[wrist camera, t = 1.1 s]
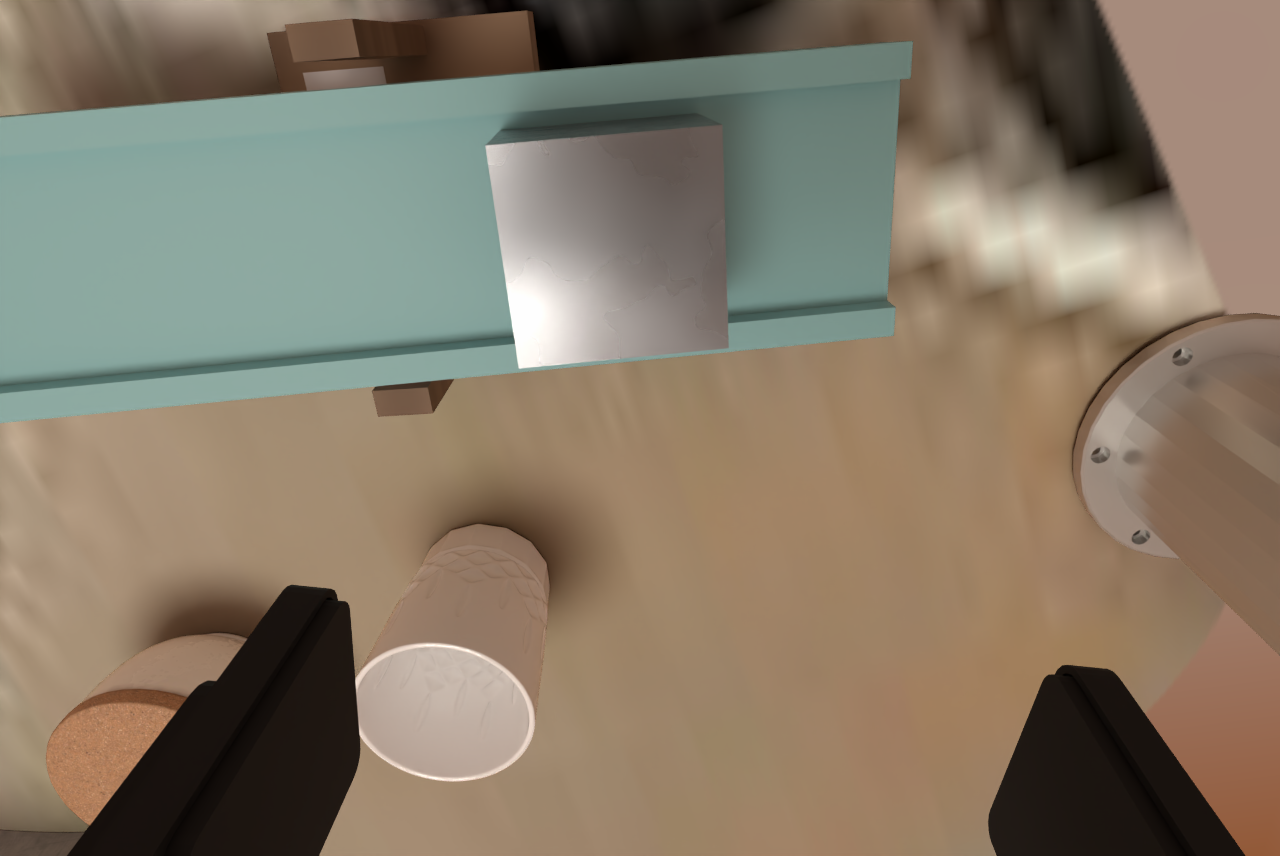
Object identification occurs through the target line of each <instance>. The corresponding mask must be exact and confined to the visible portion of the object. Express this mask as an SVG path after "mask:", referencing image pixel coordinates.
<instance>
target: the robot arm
mask: <svg viewBox="0 0 1280 856" xmlns="http://www.w3.org/2000/svg"><path fill="white" fill-rule="evenodd" d="M1073 476H1074V480H1075V485H1076V489H1077V494H1078V496H1079V498H1080V499H1081V501H1082V503H1083V505H1084V507H1085V509H1086V511H1087V512H1088V513H1089V514H1090V516H1091V517H1092V518H1093V519H1094V520H1095V521H1096V523H1097V524H1098V525H1099V526H1100V527H1101V528H1102V529H1103V530H1104V531H1105V532H1106V533H1108V534H1109V535H1110V536H1111V537H1112V538H1113V539H1114V540H1116V541H1117V542H1119V543H1121V544H1123V545H1124V546H1126V547H1128V548H1130V549H1132V550H1135V551H1138V552H1141V553H1145V554H1148V555H1152V556H1155V557H1164V558H1173V559H1181V560H1182V561H1183V562H1184V563H1185V564H1186V565H1187V566H1188V567H1189V568H1191V569H1192V570H1193V571H1194V572H1195V573H1196V574H1197V575H1198V576H1199V577H1200V578H1201V579H1202V580H1203V581H1204V582H1205V583H1206V584H1207V585H1208V586H1209V587H1210V588H1211V589H1212V590H1213V591H1214V592H1215V593H1216V594H1217V595H1218V596H1219V597H1220V598H1221V599H1222V600H1223V601H1224V602H1225V603H1226V604H1227V605H1228V606H1229V607H1230V608H1231V609H1233V611H1234V612H1235V613H1237V614H1238V615H1239V616H1240V617H1241V618H1242V619H1243V620H1244V621H1245V622H1246V623H1247V624H1248V625H1249V626H1250V627H1251V628H1252V629H1253V630H1254V631H1255V632H1256V633H1257V634H1258V635H1259V636H1260V637H1261V638H1262V639H1263V640H1264V641H1265V642H1266V643H1267V644H1268V645H1269V646H1270V647H1271V648H1272V649H1273V650H1275V652H1276V653H1277V654H1278V655H1279V656H1280V316H1275V315H1267V314H1258V313H1250V314H1235V315H1225V316H1221V317H1217V318H1212V319H1208V320H1204V321H1200V322H1197V323H1194V324H1192V325H1189V326H1187V327H1184V328H1182V329H1179V330H1177V331H1174V332H1172V333H1170V334H1168V335H1167V336H1165V337H1163V338H1162V339H1160V340H1158V341H1156V342H1155V343H1153V344H1151V345H1149V346H1148V347H1146V348H1145V349H1143V350H1142V351H1141V352H1140V353H1138V354H1137V355H1136V356H1135V357H1133V358H1132V359H1131V360H1130V361H1128V362H1127V363H1126V364H1124V365H1123V366H1122V367H1121V368H1120V369H1119V370H1118V371H1117V373H1116V374H1115V375H1114V376H1113V377H1112V378H1111V379H1110V380H1109V381H1108V382H1107V383H1106V384H1105V385H1104V386H1103V388H1102V389H1101V391H1100V392H1099V394H1098V395H1097V397H1096V398H1095V400H1094V401H1093V403H1092V404H1091V406H1090V407H1089V409H1088V411H1087V413H1086V415H1085V418H1084V420H1083V422H1082V424H1081V427H1080V429H1079V431H1078V435H1077V440H1076V444H1075V448H1074V453H1073ZM359 758H360V735H359V722H358V709H357V696H356V683H355V670H354V657H353V644H352V631H351V618H350V608H349V605H348V603H347V602H345V601H338V599H337V594H336V592H335V590H332V589H327V588H317V587H308V586H298V585H290V586H287V587H286V588H285V589H284V590H283V591H282V593H281V594H280V595H279V597H278V598H277V599H276V601H275V602H274V603H273V605H272V606H271V608H270V609H269V610H268V612H267V613H266V614H265V616H264V617H263V618H262V620H261V621H260V622H259V624H258V625H257V627H256V628H255V629H254V631H253V632H252V633H251V635H250V636H249V637H248V639H247V640H246V641H245V643H244V644H243V646H242V647H241V648H240V650H239V651H238V652H237V654H236V655H235V656H234V658H233V659H232V660H231V662H230V663H229V665H228V666H227V667H226V669H225V670H224V671H223V673H222V674H221V675H220V677H219V678H218V680H217V681H210V680H207V681H205V682H203V683H201V684H200V685H198V686H197V687H196V688H195V689H194V691H193V692H192V693H191V694H190V695H189V696H188V697H187V699H186V700H185V701H184V703H183V704H182V705H181V707H180V708H179V709H178V710H177V712H176V713H175V714H174V716H173V717H172V718H171V720H170V721H169V722H168V724H167V725H166V726H165V728H164V729H163V730H162V731H161V733H160V734H159V735H158V737H157V738H156V739H155V741H154V742H153V743H152V745H151V746H150V747H149V749H148V750H147V751H146V752H145V754H144V755H143V756H142V758H141V759H140V760H139V762H138V763H137V764H136V766H135V767H134V768H133V769H132V771H131V772H130V773H129V775H128V776H127V777H126V779H125V780H124V781H123V783H122V784H121V785H120V787H119V788H118V789H117V790H116V792H115V793H114V794H113V796H112V797H111V798H110V800H109V801H108V802H107V804H106V805H105V806H104V808H103V809H102V810H101V811H100V813H99V814H98V815H97V817H96V818H95V819H94V821H93V822H92V823H91V825H90V826H89V827H88V828H87V830H86V831H85V832H84V834H83V835H82V836H81V838H80V839H79V840H78V842H77V843H76V844H75V846H74V847H73V848H72V849H71V851H70V852H69V853H68V855H67V856H319V854H320V852H321V850H322V848H323V845H324V843H325V841H326V839H327V836H328V834H329V832H330V830H331V828H332V825H333V823H334V821H335V819H336V816H337V814H338V812H339V810H340V807H341V805H342V803H343V801H344V798H345V796H346V794H347V792H348V790H349V787H350V785H351V783H352V781H353V778H354V776H355V773H356V770H357V767H358V763H359ZM988 827H989V835H990V839H991V842H992V845H993V847H994V850H995V852H996V855H997V856H1245V854H1244V853H1243V852H1242V850H1241V849H1240V847H1239V846H1238V845H1237V843H1236V842H1235V840H1234V839H1233V838H1232V836H1231V835H1230V833H1229V832H1228V830H1227V829H1226V828H1225V826H1224V825H1223V824H1222V822H1221V821H1220V819H1219V818H1218V816H1217V815H1216V814H1215V812H1214V811H1213V809H1212V808H1211V807H1210V805H1209V804H1208V802H1207V801H1206V800H1205V798H1204V797H1203V795H1202V794H1201V792H1200V791H1199V790H1198V788H1197V787H1196V786H1195V784H1194V783H1193V781H1192V780H1191V778H1190V777H1189V776H1188V774H1187V773H1186V771H1185V770H1184V769H1183V768H1182V766H1181V764H1180V763H1179V761H1178V760H1177V759H1176V757H1175V756H1174V754H1173V753H1172V752H1171V750H1170V749H1169V747H1168V746H1167V745H1166V743H1165V742H1164V740H1163V739H1162V737H1161V736H1160V735H1159V733H1158V732H1157V730H1156V729H1155V728H1154V726H1153V725H1152V724H1151V722H1150V721H1149V719H1148V718H1147V716H1146V715H1145V713H1144V712H1143V711H1142V709H1141V708H1140V706H1139V705H1138V704H1137V702H1136V701H1135V699H1134V698H1133V697H1132V695H1131V694H1130V692H1129V691H1128V690H1127V688H1126V687H1125V685H1124V684H1123V682H1122V681H1121V680H1120V678H1119V677H1118V676H1117V675H1116V674H1115V673H1114V672H1113V671H1111V670H1108V669H1102V668H1092V667H1083V666H1073V665H1063V666H1061V667H1060V668H1059V669H1058V670H1057V672H1056V673H1055V675H1048V676H1046V677H1045V678H1044V680H1043V682H1042V684H1041V686H1040V689H1039V691H1038V694H1037V696H1036V699H1035V701H1034V704H1033V706H1032V709H1031V711H1030V714H1029V716H1028V719H1027V721H1026V723H1025V726H1024V728H1023V731H1022V733H1021V736H1020V738H1019V741H1018V743H1017V746H1016V748H1015V751H1014V753H1013V755H1012V758H1011V760H1010V763H1009V765H1008V768H1007V770H1006V773H1005V775H1004V778H1003V780H1002V783H1001V785H1000V787H999V790H998V792H997V795H996V797H995V800H994V802H993V805H992V807H991V810H990V813H989V820H988Z"/></svg>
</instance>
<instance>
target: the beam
mask: <svg viewBox="0 0 1280 856" xmlns="http://www.w3.org/2000/svg"><path fill="white" fill-rule="evenodd" d="M912 49H913V41H903V42H879V43H867V44H855V45H843V46H831V47H820V48H808V49H796V50H784V51H772V52H760V53H748V54H736V55H724V56H712V57H700V58H688V59H676V60H664V61H652V62H641V63H629V64H617V65H605V66H593V67H581V68H569V69H557V70H545V71H533V72H521V73H509V74H497V75H485V76H473V77H462V78H450V79H438V80H426V81H414V82H402V83H390V84H386V79H385V73H384V68H383V66H381V67H368V68H355V69H343V70H331V71H319V72H308V73H303V76H304V80H305V84H306V88H307V90H306V91H294V92H283V93H271V94H259V95H247V96H235V97H223V98H211V99H199V100H187V101H175V102H163V103H151V104H139V105H127V106H115V107H104V108H92V109H80V110H68V111H56V112H44V113H32V114H20V115H8V116H0V423H6V422H16V421H27V420H37V419H47V418H57V417H68V416H78V415H88V414H98V413H108V412H119V411H129V410H139V409H149V408H160V407H170V406H180V405H190V404H201V403H211V402H221V401H231V400H242V399H252V398H262V397H272V396H282V395H293V394H303V393H313V392H323V391H334V390H344V389H354V388H364V387H375V386H385V385H395V384H405V383H416V382H426V381H436V380H446V379H457V378H467V377H477V376H487V375H497V374H508V373H518V372H528V371H538V370H549V369H559V368H569V367H579V366H590V365H600V364H610V363H620V362H631V361H641V360H651V359H661V358H671V357H682V356H692V355H702V354H712V353H723V352H733V351H743V350H753V349H764V348H774V347H784V346H794V345H805V344H815V343H825V342H835V341H846V340H856V339H866V338H876V337H886V336H894V325H895V309H896V307H895V306H893V305H892V304H891V303H890V302H888V301H887V293H888V277H889V260H890V244H891V227H892V210H893V194H894V177H895V161H896V144H897V128H898V111H899V94H900V79H911V64H912ZM693 113H698V114H700V115H703V116H705V117H707V118H709V119H711V120H713V121H715V122H717V123H720V124H722V129H723V164H724V199H725V233H726V268H727V303H728V338H729V348H726V349H716V350H705V351H695V352H685V353H674V354H664V355H654V356H644V357H633V358H623V359H613V360H603V361H592V362H582V363H572V364H561V365H551V366H541V367H531V368H520V369H519V367H518V360H517V353H516V347H515V340H514V333H513V327H512V320H511V313H510V307H509V300H508V293H507V287H506V280H505V274H504V267H503V260H502V254H501V247H500V240H499V234H498V227H497V220H496V214H495V207H494V200H493V194H492V187H491V180H490V174H489V167H488V161H487V154H486V147H485V145H486V144H487V143H488V142H489V141H490V140H491V139H492V138H493V137H494V136H495V135H496V134H497V133H498V132H499V131H500V130H507V129H519V128H531V127H542V126H554V125H565V124H577V123H589V122H600V121H612V120H623V119H635V118H646V117H658V116H670V115H681V114H693Z"/></svg>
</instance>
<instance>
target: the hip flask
mask: <svg viewBox="0 0 1280 856" xmlns="http://www.w3.org/2000/svg"><path fill="white" fill-rule="evenodd" d="M83 834H84V832H75V833H53V832H23V831H7V830H0V856H67V855H68V853H69V852H70V851H71V849H72V848H73V847H74V846H75V844H76V843H77V842H78V840H79V839H80V838H81V836H82V835H83Z"/></svg>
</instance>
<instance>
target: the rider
mask: <svg viewBox="0 0 1280 856" xmlns="http://www.w3.org/2000/svg"><path fill="white" fill-rule="evenodd" d="M485 147H486V154H487V161H488V167H489V174H490V180H491V187H492V194H493V200H494V207H495V214H496V220H497V227H498V234H499V240H500V247H501V254H502V260H503V267H504V274H505V280H506V287H507V293H508V300H509V307H510V313H511V320H512V327H513V333H514V340H515V347H516V353H517V360H518V367H519V369H520V368H531V367H541V366H551V365H561V364H572V363H582V362H592V361H603V360H613V359H623V358H633V357H644V356H654V355H664V354H674V353H685V352H695V351H705V350H716V349H726V348H729V338H728V303H727V268H726V233H725V199H724V164H723V129H722V124H720V123H717V122H715V121H713V120H711V119H709V118H707V117H705V116H703V115H700V114H698V113H693V114H681V115H670V116H658V117H646V118H635V119H623V120H612V121H600V122H589V123H577V124H565V125H554V126H542V127H531V128H519V129H507V130H500V131H499V132H498V133H497V134H496V135H495V136H494V137H493V138H492V139H491V140H490V141H489V142H488V143H487V144H486V145H485Z"/></svg>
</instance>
